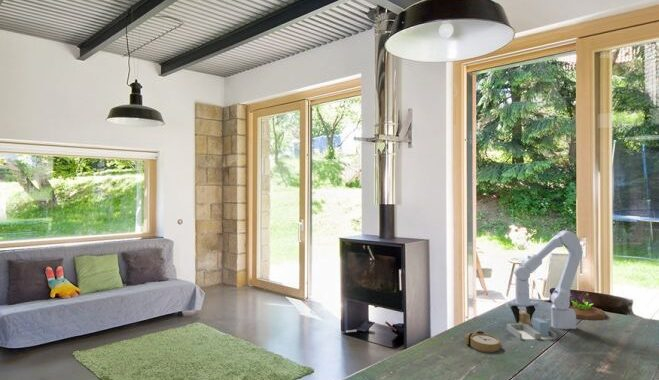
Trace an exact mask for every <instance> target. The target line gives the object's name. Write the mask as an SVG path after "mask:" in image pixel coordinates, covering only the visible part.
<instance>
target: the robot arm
mask: <svg viewBox="0 0 659 380" xmlns="http://www.w3.org/2000/svg"><path fill="white" fill-rule="evenodd" d="M563 247H565V249H566V251H567V252H568V255H567V258H566V261H565V263H564V267H563V270H562V271H561V272H562V273H561V275H560V278H559V281H558V284H557V286H556V287H555V289H554V291H553V292H552V293H551V294H550V296H549V297H550V298H549V299H550V301H551V303H552V304H551V306H550V315H551V317H550V320H551V328H554V329H559V330H571V329H573V330H576V329H577V319H576V314H575V311H574V310H573V309H570V308H569V306H570V305H571V302H570V299H569V298H570V296H571V289H572V286H573V282H574V280H575V277H576V274H577V271H578V268H579V266H580V263H581V262H580V261H581V260H582V256H583V248H582V246H581V242H580V238H579V237H578V236H577V234H576V233H574V232H573V231H569V230H567V229H564V230H561V231H559V232H558V233H557V234H555V235H554V236H553V237H552V238H551V239H550V240H549V241H548V242H547V243H545V245H544V246H543V247H542V248H541V249H540V250H539V251H538V252H537V253H536V254H532V253H531V255H527V256H526V259H525V260H524V261H523V262H522V263H519V266H517V267H515V269H514V271H513V273H514V275H515V284H514V285H515V300H514V301H512V300H511V301H505V306H506V307H507V308H510V309H511V311H512V313H513V316H514V320H515V323H516V324H518V323H519V311H521V310H520V309H519V307H521V308H522V307H525V312H526V313H528V314H529V315H530V323H531V322H532V318H533V315H534V313H535V311H536V308H540V302H539V301H532V300H530V283H529V278H530V276H531V274H532V273H533V272H535V271H536V270H537V269H538V268H539V267H540V266H541V265H543V259H545V258H546V257H547V256H548V255H549V254H551V252H553V251H554V250H555V249H556V248H563Z"/></svg>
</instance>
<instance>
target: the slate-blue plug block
mask: <svg viewBox="0 0 659 380" xmlns="http://www.w3.org/2000/svg"><path fill="white" fill-rule="evenodd" d="M531 322H532V324H533V329H535V330H536V331H538V332H539V333H541V337H549V329H550V328H549V321H547V320H545V319H543V318H542V317H532V318H531Z"/></svg>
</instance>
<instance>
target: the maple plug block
mask: <svg viewBox="0 0 659 380" xmlns="http://www.w3.org/2000/svg"><path fill="white" fill-rule="evenodd" d="M517 324H531V322H530V315H529V314H528V313H527V311H525V310H519V323H517Z"/></svg>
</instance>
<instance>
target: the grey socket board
mask: <svg viewBox="0 0 659 380" xmlns="http://www.w3.org/2000/svg"><path fill="white" fill-rule="evenodd" d="M506 330H507V331H509V332H510V333H511V334H512V335H514V336H515V337H516V338H518V339H519V340H557V339H558V337H557V332H554V331H553V330H552V329H550V328H549V337H541V333H539V332H538V331H536V330H535V329H533V323H530V324H518V323H506Z"/></svg>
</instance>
